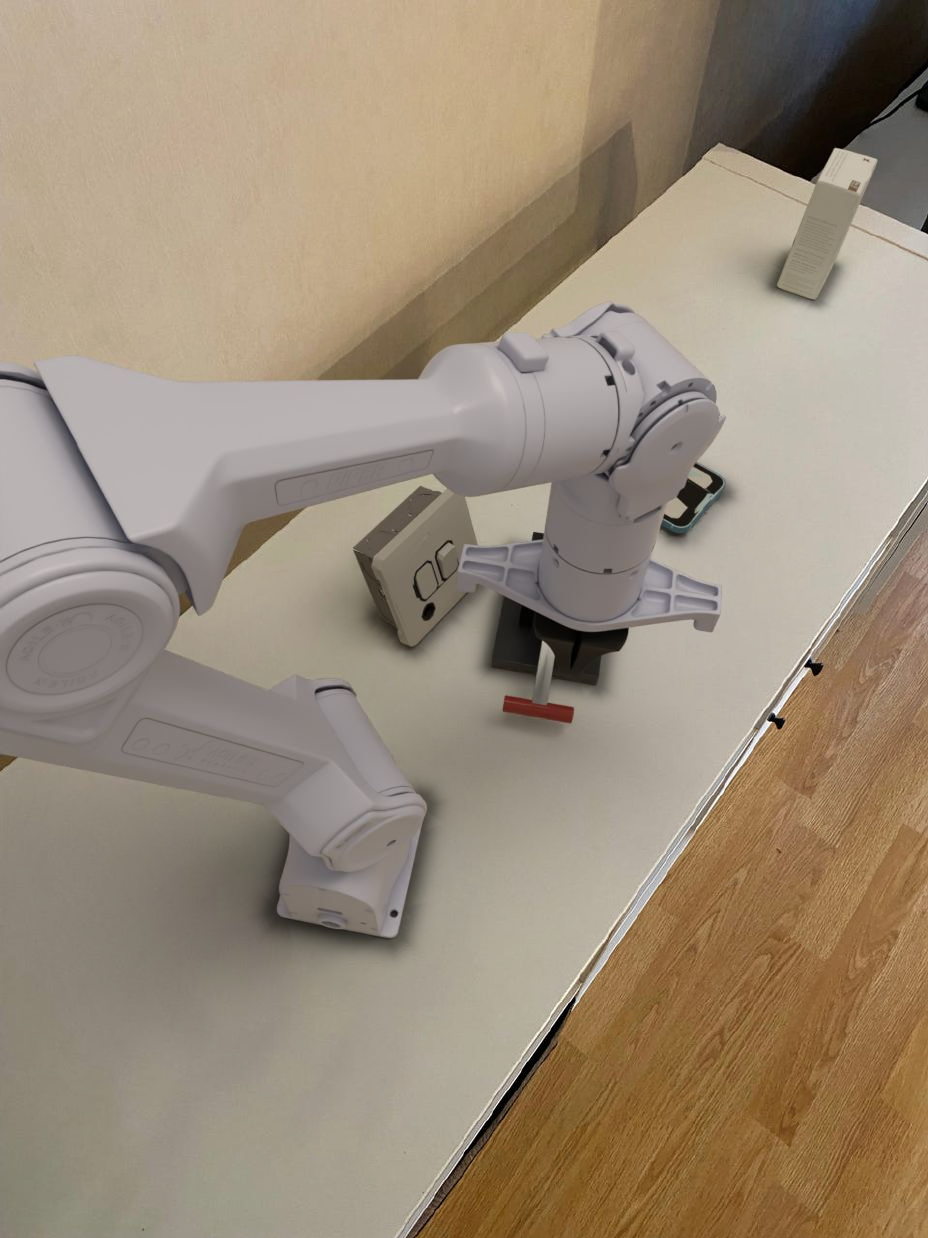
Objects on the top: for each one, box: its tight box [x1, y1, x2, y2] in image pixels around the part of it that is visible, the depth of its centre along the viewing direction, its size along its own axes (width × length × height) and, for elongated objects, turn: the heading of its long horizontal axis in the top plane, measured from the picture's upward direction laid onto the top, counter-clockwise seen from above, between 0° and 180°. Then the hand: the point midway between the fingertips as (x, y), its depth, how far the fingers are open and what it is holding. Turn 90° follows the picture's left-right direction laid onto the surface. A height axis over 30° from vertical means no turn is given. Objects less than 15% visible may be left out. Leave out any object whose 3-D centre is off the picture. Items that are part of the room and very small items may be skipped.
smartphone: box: [661, 461, 726, 534], centre depth 83 cm, size 7×1×15 cm
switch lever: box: [501, 641, 575, 725], centre depth 70 cm, size 12×5×2 cm, turn 169°
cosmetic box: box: [776, 147, 878, 300], centre depth 92 cm, size 6×4×12 cm
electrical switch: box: [352, 485, 479, 647], centre depth 72 cm, size 9×5×9 cm, turn 141°
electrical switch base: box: [490, 531, 602, 686], centre depth 72 cm, size 11×8×7 cm
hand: (571, 661), depth 61 cm, fingers closed
